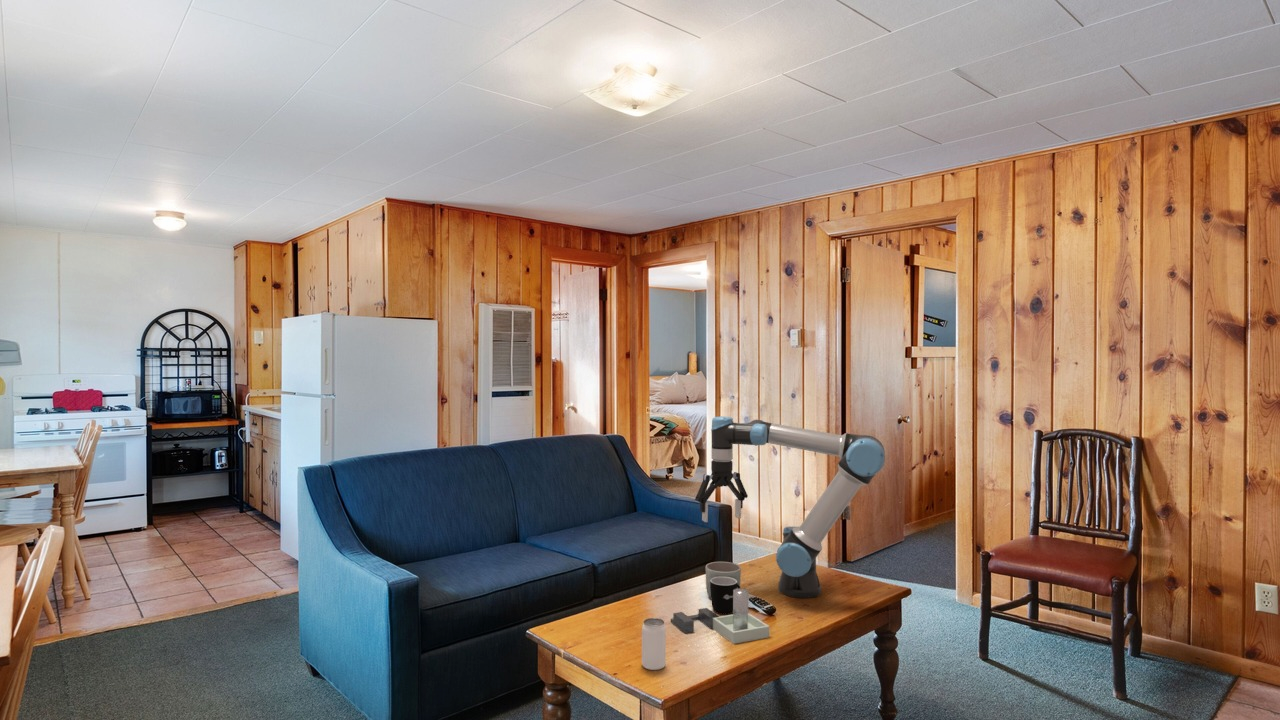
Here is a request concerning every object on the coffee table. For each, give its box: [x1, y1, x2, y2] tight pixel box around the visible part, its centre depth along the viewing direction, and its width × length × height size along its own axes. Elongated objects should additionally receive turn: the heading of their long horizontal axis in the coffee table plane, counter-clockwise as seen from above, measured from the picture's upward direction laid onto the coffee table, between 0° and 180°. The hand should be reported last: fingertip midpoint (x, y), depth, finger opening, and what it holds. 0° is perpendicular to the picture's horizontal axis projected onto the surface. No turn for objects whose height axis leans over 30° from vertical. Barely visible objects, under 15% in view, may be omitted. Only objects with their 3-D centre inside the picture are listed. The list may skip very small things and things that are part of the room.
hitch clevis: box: [670, 607, 720, 634], centre depth 216 cm, size 12×10×4 cm
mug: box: [710, 577, 742, 615], centre depth 229 cm, size 12×9×10 cm
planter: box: [705, 561, 742, 599], centre depth 241 cm, size 12×12×11 cm
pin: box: [732, 588, 749, 631], centre depth 210 cm, size 5×5×12 cm
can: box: [641, 617, 667, 671], centre depth 188 cm, size 6×6×12 cm
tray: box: [712, 612, 770, 645], centre depth 210 cm, size 13×13×3 cm
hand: (721, 519), depth 245 cm, fingers open, 13 cm apart
